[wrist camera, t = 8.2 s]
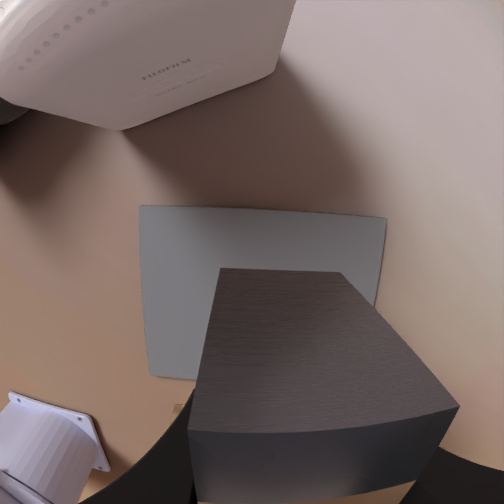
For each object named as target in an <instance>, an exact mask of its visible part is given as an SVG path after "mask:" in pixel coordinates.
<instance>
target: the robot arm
mask: <svg viewBox="0 0 504 504" xmlns="http://www.w3.org/2000/svg"><path fill="white" fill-rule="evenodd" d="M194 392H195V389H193V391H192V393H191V395H190V397H189V399H188V401H187V402H186V404H185V406H184V407H183V409H182V410H181V412H180V413H179V415H178V416H177V417H176V419H175V420H174V421H173V423H172V424H171V426H170V427H169V428H168V430H167V431H166V432H165V433H164V434H163V436H162V437H161V438H160V439H159V440H158V441H157V442H156V444H155V445H154V446H153V447H152V448H151V449H150V450H149V451H148V452H147V453H146V454H145V455H144V456H143V457H142V458H141V459H140V460H139V461H138V462H137V463H136V464H135V465H134V466H133V467H131V468H130V469H129V470H128V471H127V472H125V473H124V474H123V475H122V476H120V477H119V478H118V479H116V480H115V481H114V482H112V483H111V484H110V485H108V486H107V487H105V488H104V489H102V490H101V491H99V492H97V493H96V494H94V495H92V496H91V497H89V498H87V499H85V500H84V501H82V502H80V503H78V501H79V499H80V496H81V494H82V492H83V489H84V487H85V484H86V482H87V480H88V477H89V475H90V473H91V470H92V468H94V469H98V470H101V471H105V472H109V471H110V469H111V468H110V465H109V463H108V461H107V458H106V456H105V453H104V451H103V448H102V446H101V443H100V441H99V438H98V435H97V432H96V430H95V427H94V424H93V421H92V419H91V417H90V416H88V415H86V414H83V413H79V412H75V411H71V410H67V409H64V408H60V407H56V406H53V405H50V404H46V403H43V402H40V401H37V400H34V399H31V398H28V397H25V396H22V395H19V394H17V393H14V392H9V393H8V397H9V399H10V402H9V404H8V405H7V406H6V407H5V408H4V409H3V411H2V412H1V413H0V504H198V503H197V496H196V490H195V484H194V477H193V470H192V463H191V455H190V447H189V439H188V431H187V429H188V423H189V418H190V413H191V407H192V402H193V397H194ZM399 504H504V471H501V470H497V469H493V468H490V467H486V466H483V465H479V464H476V463H474V462H471V461H468V460H466V459H463V458H461V457H459V456H456V455H454V454H452V453H450V452H448V451H446V450H444V449H442V448H440V447H437V449H436V451H435V452H434V454H433V455H432V457H431V459H430V460H429V462H428V463H427V465H426V466H425V468H424V469H423V471H422V472H421V474H420V475H419V477H418V478H417V480H416V481H415V482H414V484H413V485H412V487H411V488H410V489H409V491H408V492H407V493H406V495H405V496H404V497H403V499H402V500H401V501H400V503H399Z"/></svg>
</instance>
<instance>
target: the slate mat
mask: <svg viewBox="0 0 504 504" xmlns="http://www.w3.org/2000/svg"><path fill="white" fill-rule="evenodd" d="M386 221H387V219H385V218H380V217H369V216H357V215H345V214H332V213H318V212H304V211H288V210H270V209H251V208H229V207H201V206H162V205H141V206H139V237H140V268H141V287H142V302H143V315H144V326H145V336H146V345H147V354H148V362H149V370H150V375H153V376H161V377H171V378H182V379H194V380H197V377H198V371H199V366H200V362H201V357H202V352H203V347H204V342H205V337H206V332H207V327H208V323H209V318H210V313H211V309H212V304H213V299H214V295H215V290H216V286H217V281H218V276H219V272H220V268H241V269H265V270H292V271H322V272H341V273H342V275H343V276H344V277H345V278H346V279H347V280H348V281H349V282H350V283H351V284H352V285H353V286H354V287H355V288H356V289H357V290H358V291H359V292H360V293H361V294H362V296H363V297H364V298H365V299H366V300H367V301H368V302H369V303H370V304H371V305H372V306H373V307H374V302H375V296H376V291H377V285H378V279H379V273H380V266H381V260H382V253H383V246H384V238H385V230H386Z"/></svg>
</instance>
